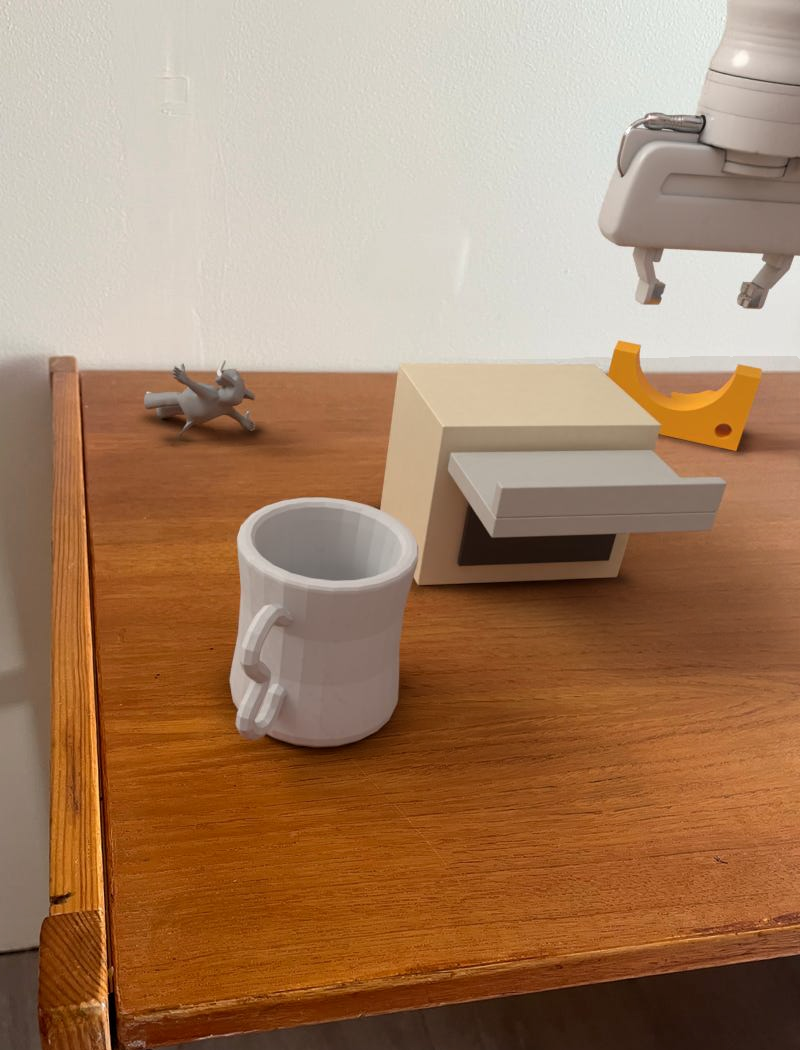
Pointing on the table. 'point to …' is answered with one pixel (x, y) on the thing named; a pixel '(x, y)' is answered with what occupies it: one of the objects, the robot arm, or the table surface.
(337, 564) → the mug
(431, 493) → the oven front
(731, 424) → the pipe clamp
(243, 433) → the table surface
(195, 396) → the grey sculpted figure
